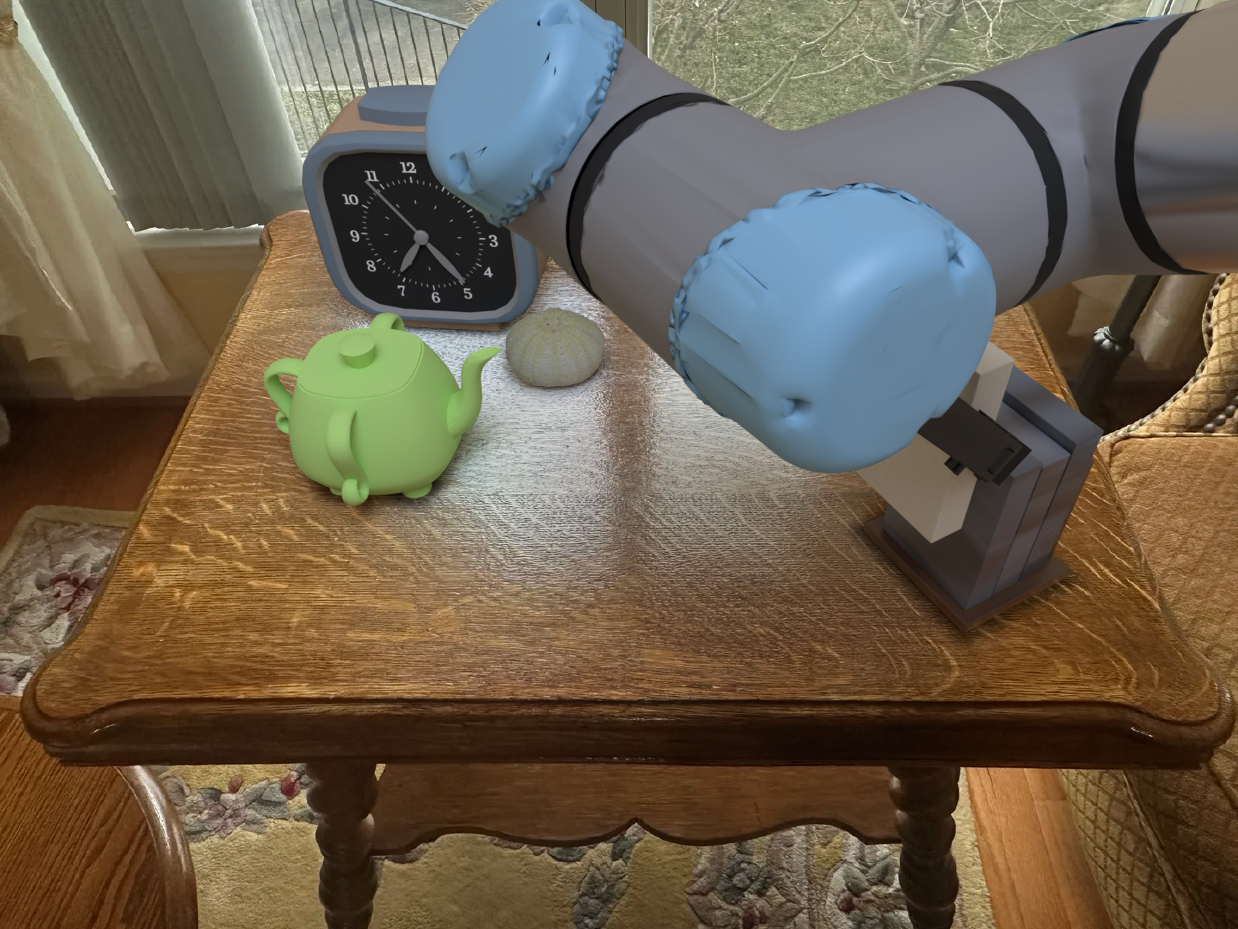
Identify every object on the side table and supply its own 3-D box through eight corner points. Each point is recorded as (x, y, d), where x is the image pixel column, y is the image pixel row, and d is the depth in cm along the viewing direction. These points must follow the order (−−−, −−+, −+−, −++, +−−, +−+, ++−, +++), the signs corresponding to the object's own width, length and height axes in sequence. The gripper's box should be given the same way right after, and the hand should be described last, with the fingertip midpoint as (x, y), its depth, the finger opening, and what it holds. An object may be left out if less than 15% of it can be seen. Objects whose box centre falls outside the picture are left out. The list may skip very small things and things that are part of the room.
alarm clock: (341, 328, 94) (278, 120, 79) (372, 275, 101) (319, 73, 86) (542, 340, 92) (516, 127, 76) (560, 284, 98) (540, 78, 83)
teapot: (445, 378, 88) (420, 262, 79) (520, 464, 80) (501, 344, 71) (279, 449, 82) (232, 331, 73) (341, 550, 74) (296, 430, 65)
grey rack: (1067, 578, 69) (1138, 429, 59) (963, 634, 66) (1018, 488, 55) (961, 484, 76) (1007, 337, 66) (862, 531, 73) (895, 385, 62)
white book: (961, 529, 57) (1015, 359, 48) (930, 544, 56) (980, 374, 47) (866, 442, 63) (898, 275, 54) (837, 454, 62) (865, 288, 53)
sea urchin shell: (600, 385, 83) (533, 327, 80) (546, 424, 88) (481, 370, 85) (624, 324, 90) (562, 268, 87) (572, 363, 95) (512, 312, 92)
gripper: (584, 228, 49) (804, 368, 65) (846, 485, 35) (1043, 582, 51) (671, 104, 47) (876, 280, 63) (987, 325, 33) (1146, 479, 49)
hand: (951, 416), depth 57 cm, fingers closed on white book, 9 cm apart
